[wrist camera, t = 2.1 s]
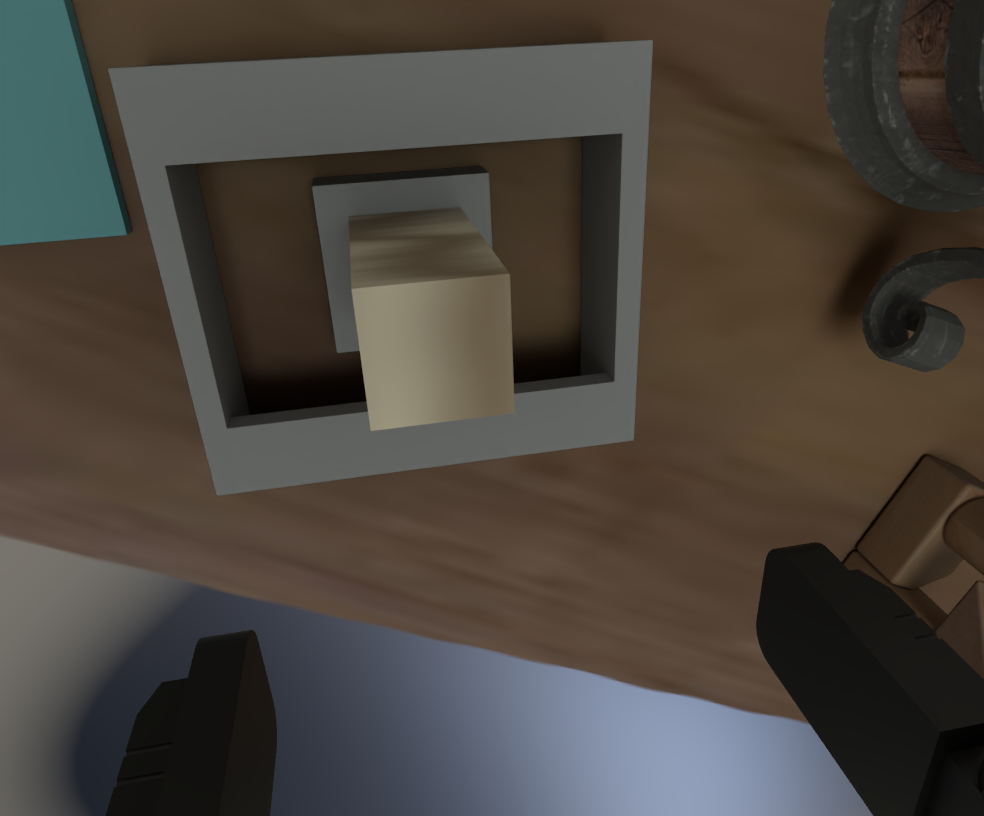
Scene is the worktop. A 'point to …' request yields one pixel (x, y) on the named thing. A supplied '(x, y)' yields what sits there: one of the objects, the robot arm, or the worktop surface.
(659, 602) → the worktop surface
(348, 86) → the open gray rectangular frame
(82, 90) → the mat
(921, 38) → the tankard
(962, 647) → the wooden block
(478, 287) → the birch block
